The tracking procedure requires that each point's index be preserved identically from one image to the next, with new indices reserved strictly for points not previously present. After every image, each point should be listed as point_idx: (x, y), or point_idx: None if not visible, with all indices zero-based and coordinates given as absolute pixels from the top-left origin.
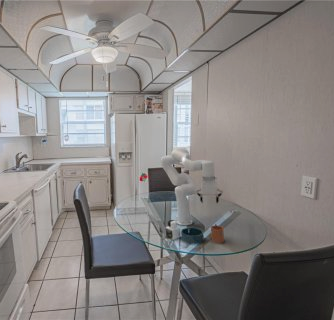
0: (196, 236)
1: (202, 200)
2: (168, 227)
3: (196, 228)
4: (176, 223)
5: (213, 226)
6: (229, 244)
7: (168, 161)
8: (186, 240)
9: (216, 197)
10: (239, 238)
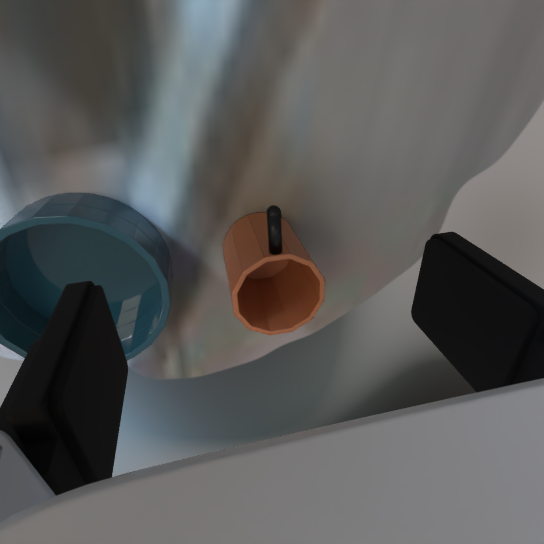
0: (130, 356)
1: (118, 417)
2: None
3: (95, 228)
4: None
5: (253, 268)
6: None
7: None
8: None
9: (508, 381)
10: (397, 176)
